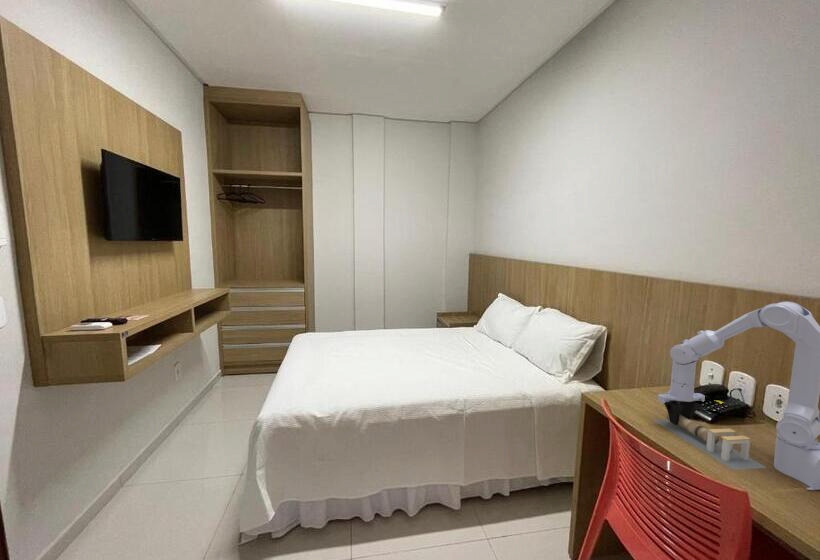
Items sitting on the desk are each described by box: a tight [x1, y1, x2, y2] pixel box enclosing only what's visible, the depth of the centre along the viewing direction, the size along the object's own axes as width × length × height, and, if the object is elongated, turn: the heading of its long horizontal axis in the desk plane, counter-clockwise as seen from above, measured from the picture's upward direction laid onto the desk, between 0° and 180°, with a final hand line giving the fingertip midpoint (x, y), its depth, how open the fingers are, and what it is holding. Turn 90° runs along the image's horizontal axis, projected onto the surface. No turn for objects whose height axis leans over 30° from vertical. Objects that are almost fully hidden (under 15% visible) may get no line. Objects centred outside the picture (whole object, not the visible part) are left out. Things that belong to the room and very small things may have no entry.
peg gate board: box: [652, 419, 768, 471], centre depth 97 cm, size 25×10×7 cm, turn 6°
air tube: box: [666, 412, 720, 445], centre depth 101 cm, size 14×3×3 cm, turn 6°
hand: (679, 422), depth 105 cm, fingers closed on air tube, 3 cm apart
